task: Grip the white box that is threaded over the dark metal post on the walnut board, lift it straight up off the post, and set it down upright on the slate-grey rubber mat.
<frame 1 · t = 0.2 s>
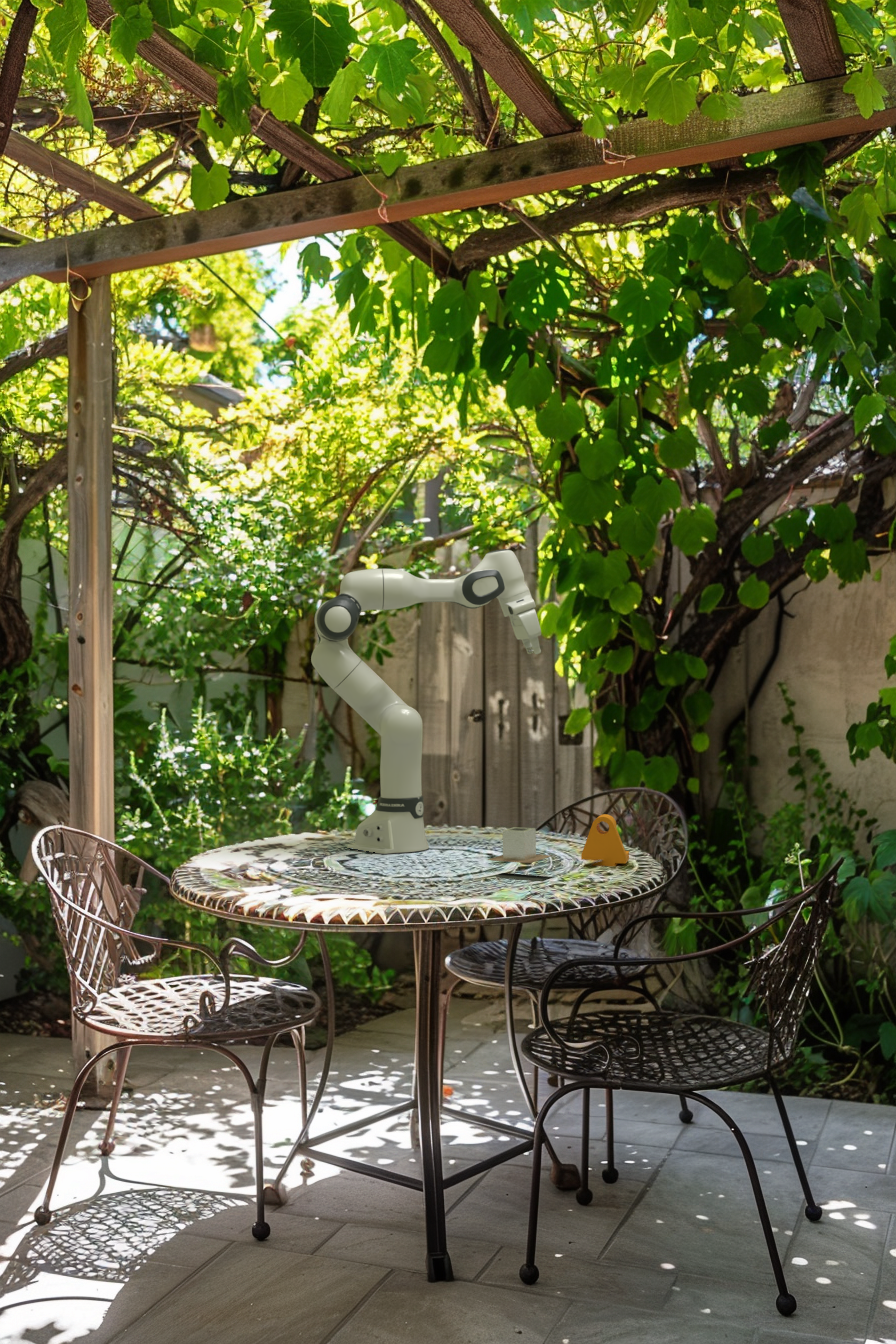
hand: (534, 653, 338), 52 cm above the table, tool tilted 20°, fingers open, 8 cm apart
mat: (531, 875, 289), on the table
white box: (519, 857, 306), point 1 cm above the table, touching post board
post board: (519, 863, 306), on the table
bracket: (605, 864, 303), on the table
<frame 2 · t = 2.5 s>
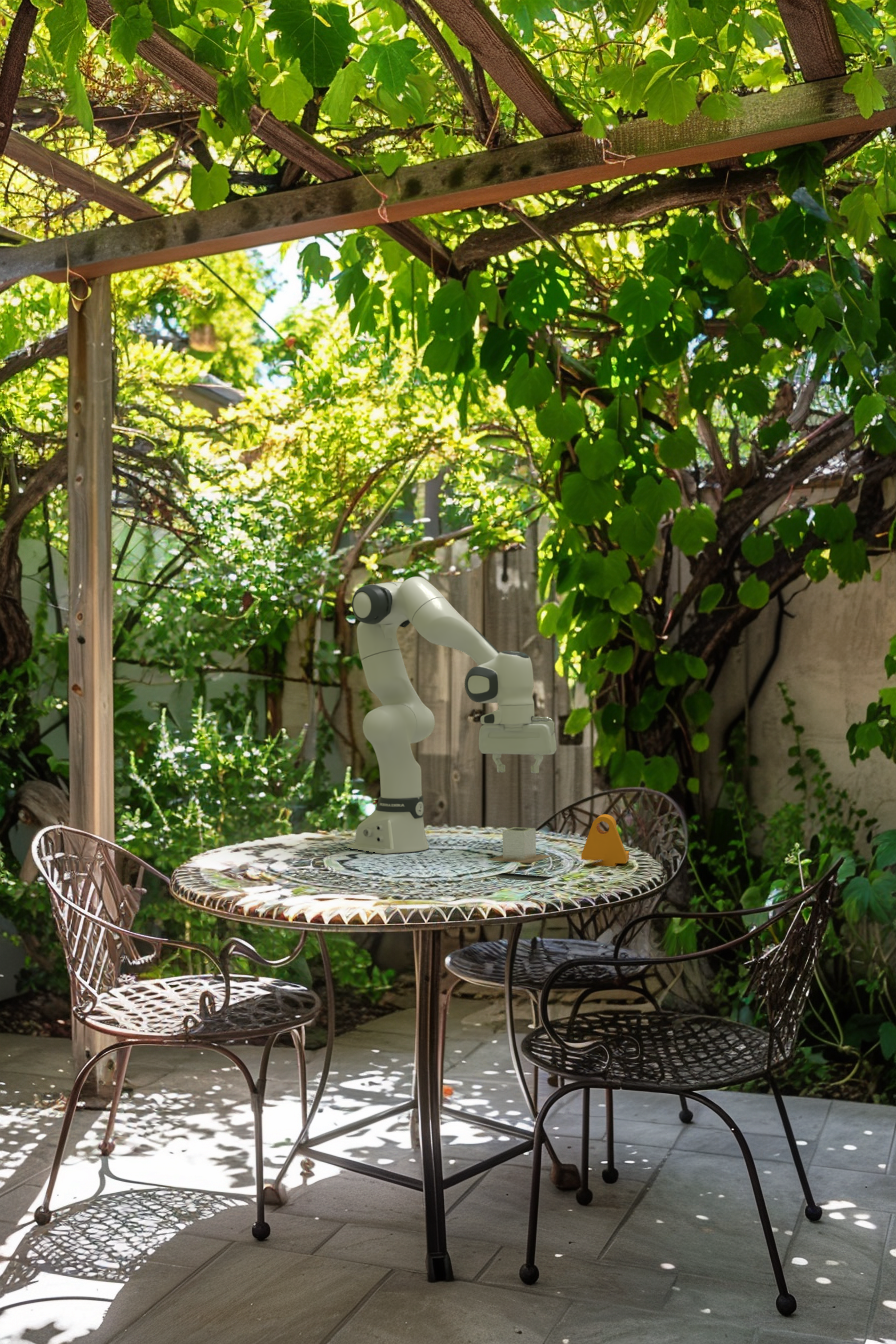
hand: (517, 772, 305), 22 cm above the table, tool pointing down, fingers open, 8 cm apart
nothing on the table moved.
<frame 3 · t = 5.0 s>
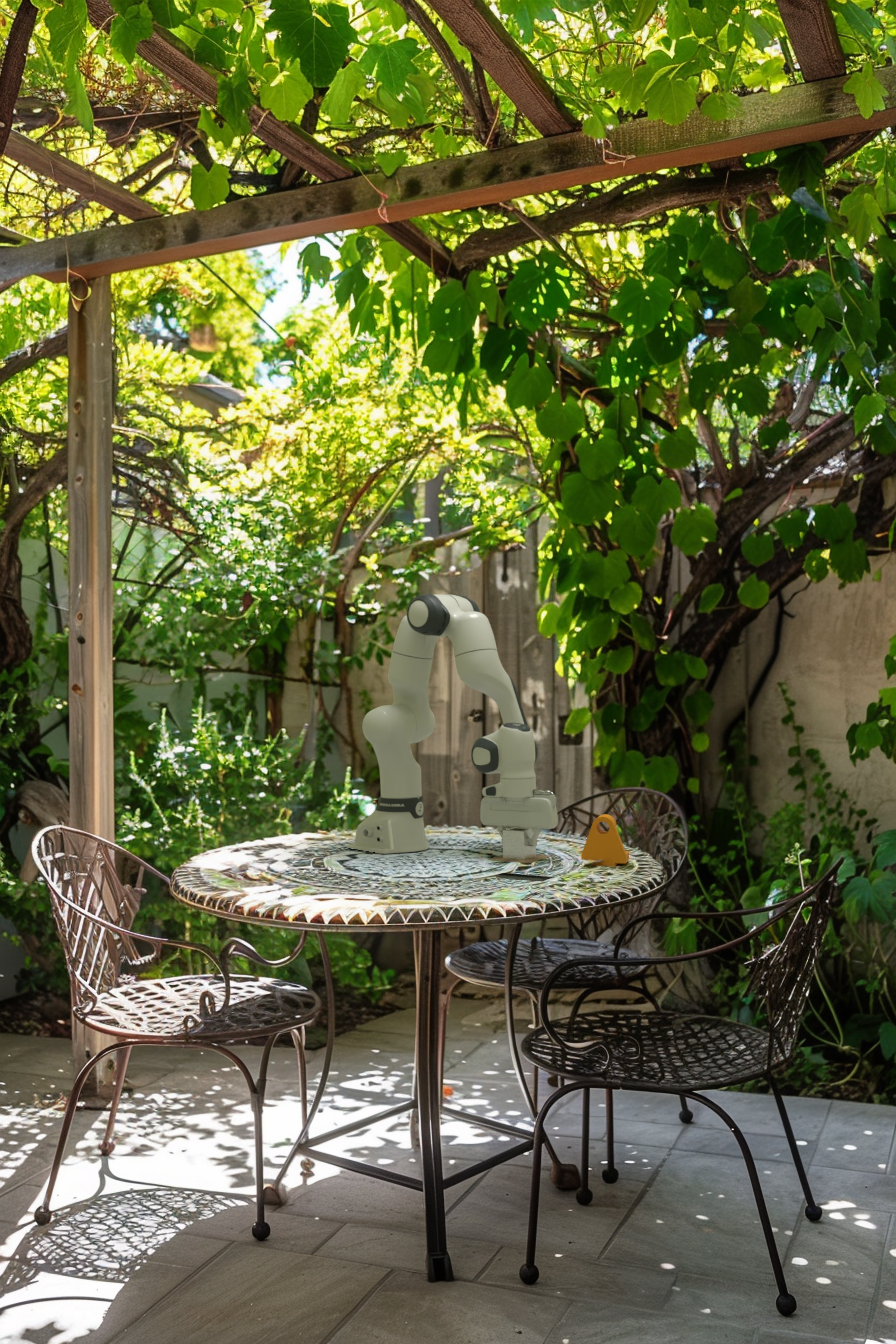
hand: (519, 845, 306), 5 cm above the table, tool pointing down, fingers closed on white box, 6 cm apart
white box: (519, 857, 306), point 2 cm above the table, touching gripper, post board
everything else where it was.
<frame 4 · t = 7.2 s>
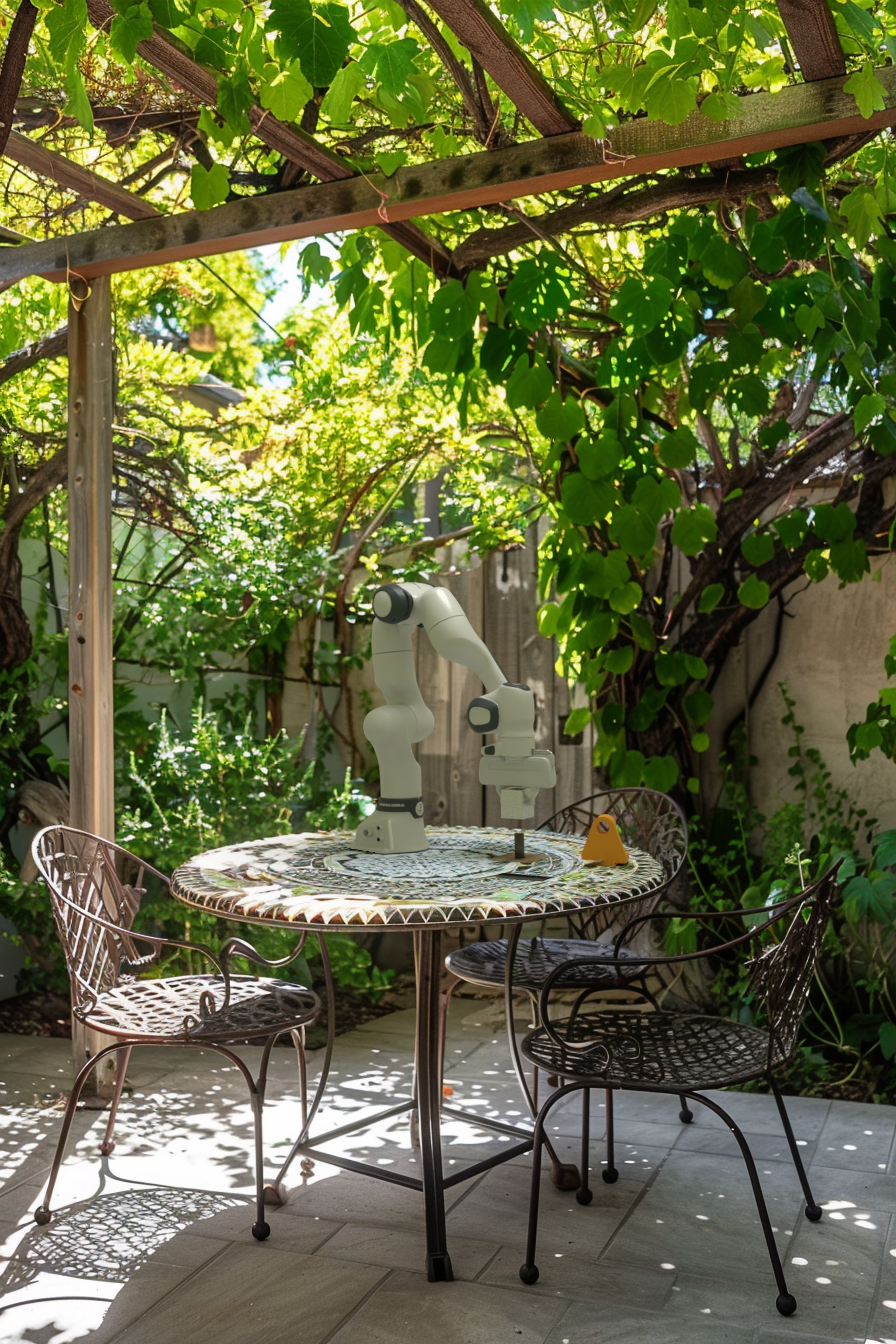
hand: (517, 804, 306), 15 cm above the table, tool pointing down, fingers closed on white box, 6 cm apart
white box: (517, 817, 306), point 11 cm above the table, touching gripper
everything else where it was.
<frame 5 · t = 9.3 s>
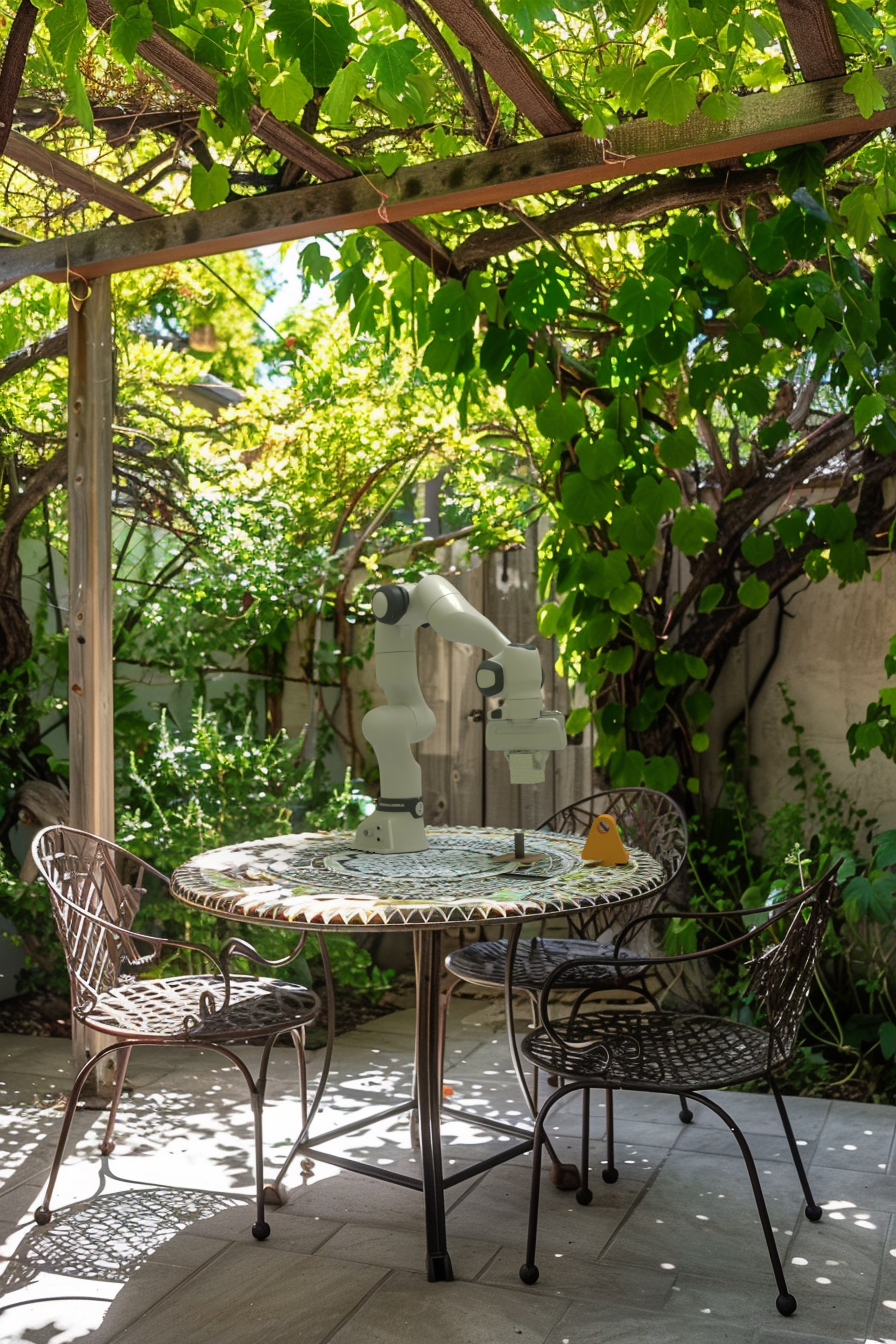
hand: (527, 769, 294), 24 cm above the table, tool pointing down, fingers closed on white box, 6 cm apart
white box: (527, 782, 294), point 21 cm above the table, touching gripper
everything else where it was.
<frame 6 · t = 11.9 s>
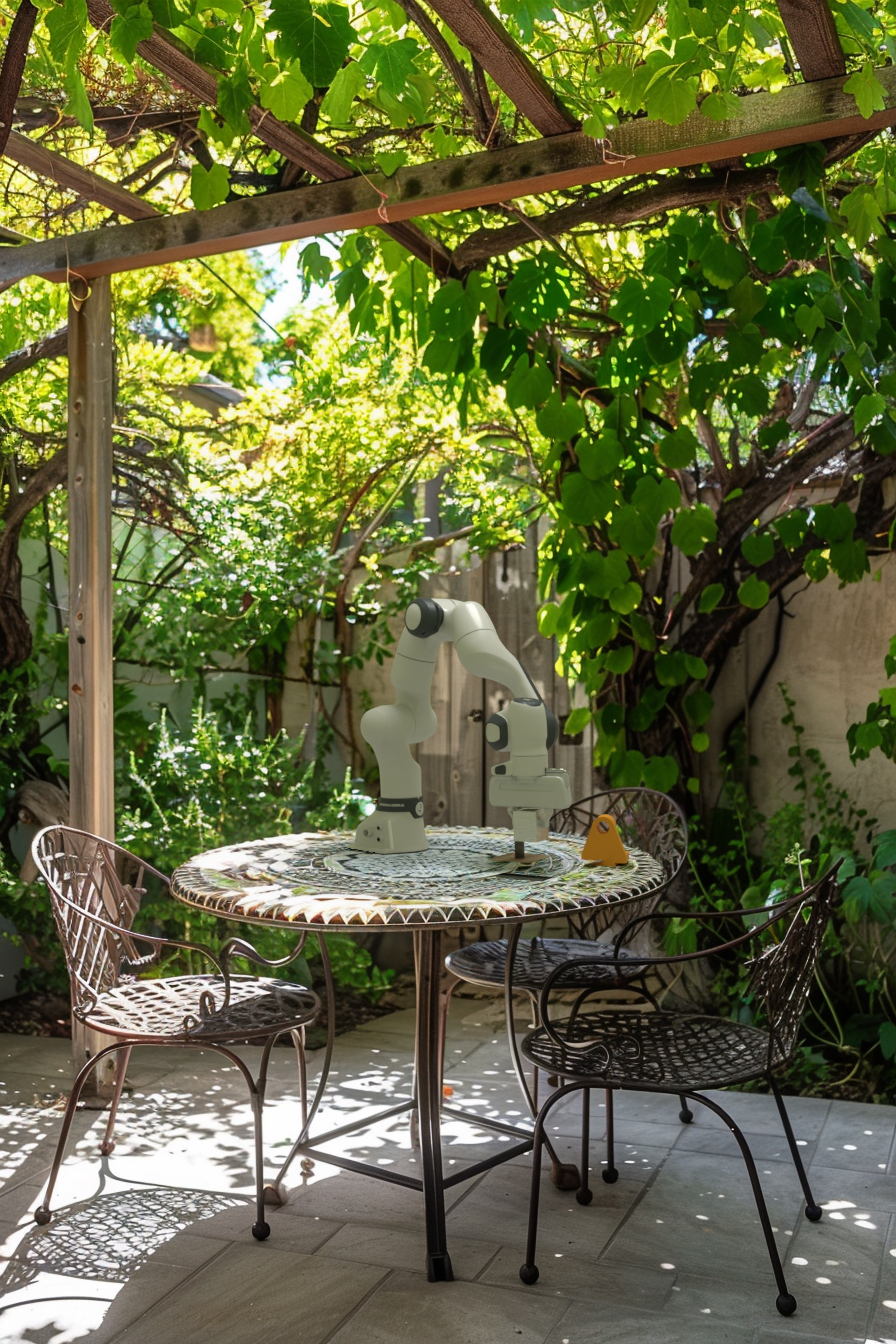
hand: (530, 826, 289), 11 cm above the table, tool pointing down, fingers closed on white box, 6 cm apart
white box: (531, 839, 289), point 8 cm above the table, touching gripper
everything else where it was.
when the fingers open (6 cm above the table, at t = 14.0 s): white box drops 2 cm, resting on mat.
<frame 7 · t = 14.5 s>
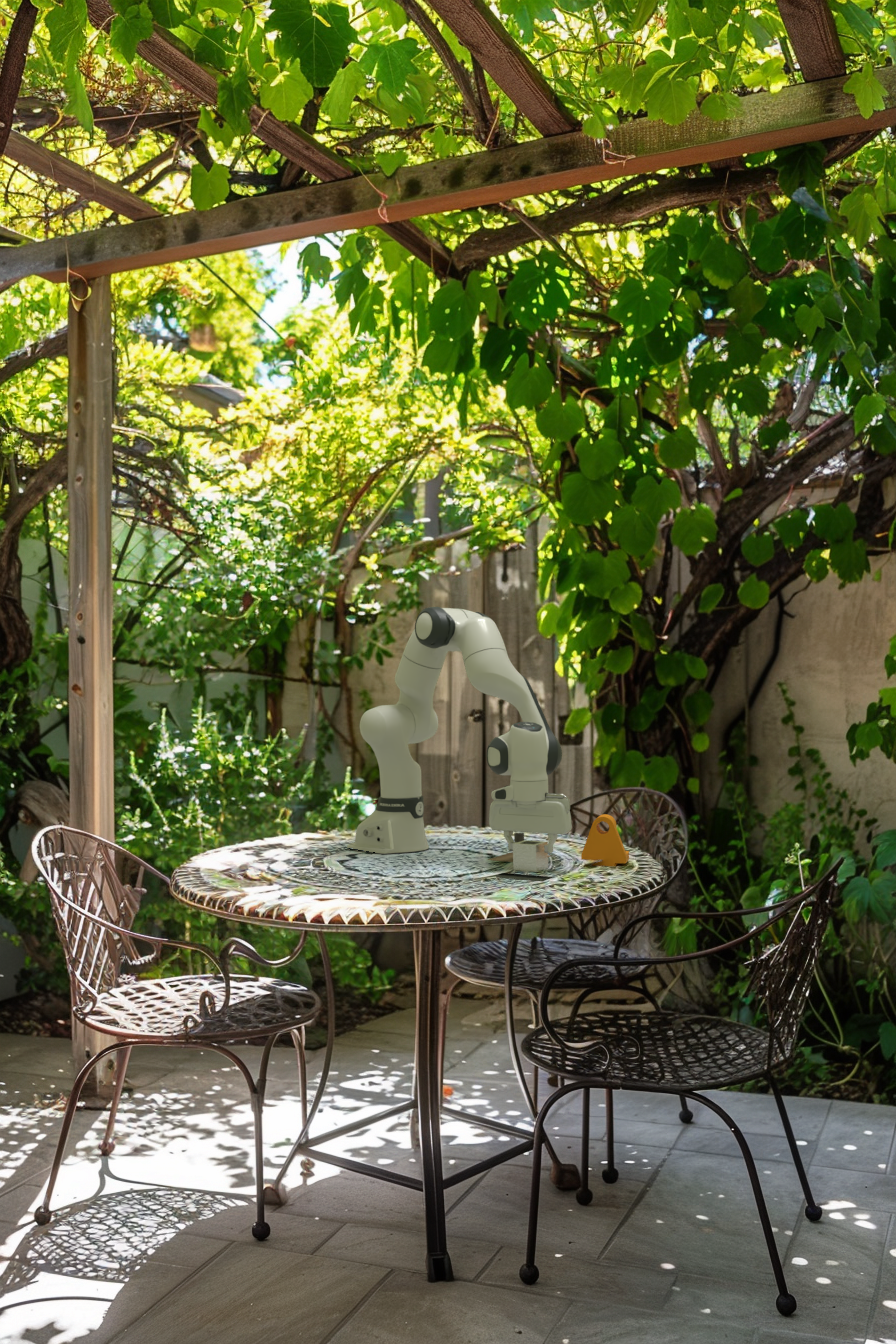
hand: (530, 851, 289), 6 cm above the table, tool pointing down, fingers open, 8 cm apart
white box: (530, 872, 289), point 1 cm above the table, touching mat
everything else where it was.
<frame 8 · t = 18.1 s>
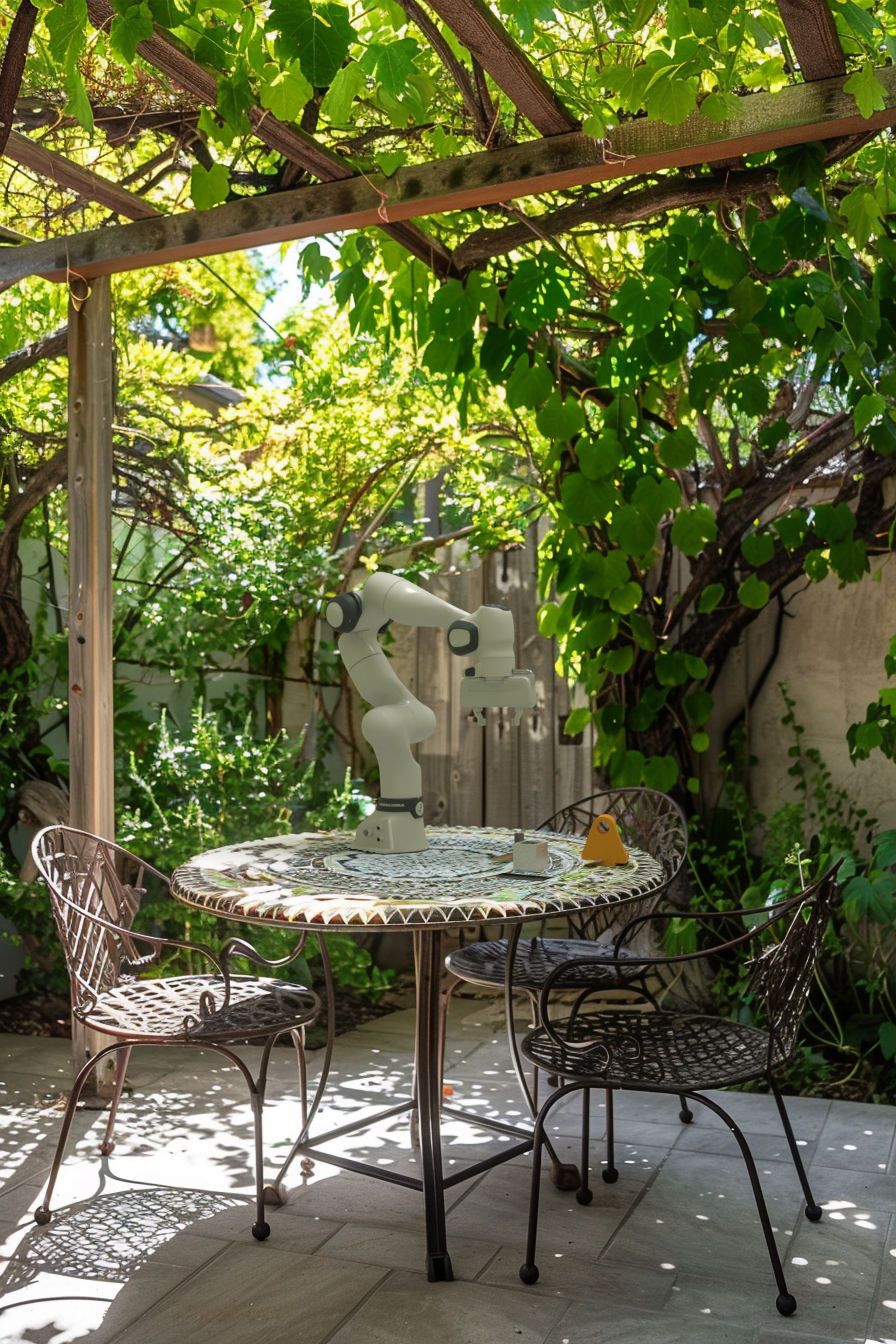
hand: (498, 725, 306), 34 cm above the table, tool pointing down, fingers open, 8 cm apart
nothing on the table moved.
at the end: white box inside the target area (0.1 cm from its centre), point 0.6 cm above the table; white box tilted 0°; the gripper is holding nothing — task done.
